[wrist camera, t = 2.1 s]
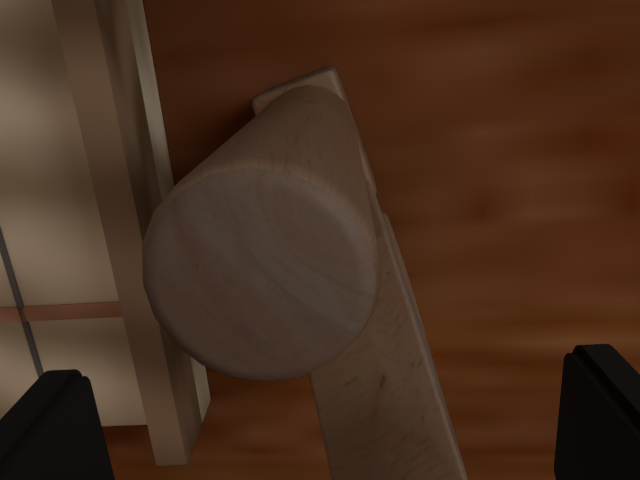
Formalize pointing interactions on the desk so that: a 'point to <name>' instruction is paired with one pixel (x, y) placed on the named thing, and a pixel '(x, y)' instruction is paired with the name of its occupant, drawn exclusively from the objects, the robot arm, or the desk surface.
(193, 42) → the desk surface
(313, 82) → the wooden block
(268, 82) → the desk surface
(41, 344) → the marking board
